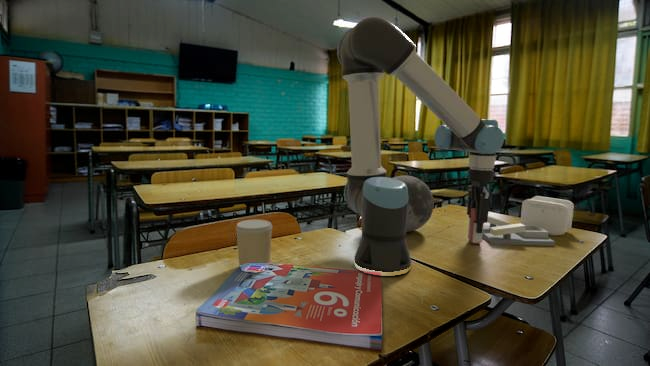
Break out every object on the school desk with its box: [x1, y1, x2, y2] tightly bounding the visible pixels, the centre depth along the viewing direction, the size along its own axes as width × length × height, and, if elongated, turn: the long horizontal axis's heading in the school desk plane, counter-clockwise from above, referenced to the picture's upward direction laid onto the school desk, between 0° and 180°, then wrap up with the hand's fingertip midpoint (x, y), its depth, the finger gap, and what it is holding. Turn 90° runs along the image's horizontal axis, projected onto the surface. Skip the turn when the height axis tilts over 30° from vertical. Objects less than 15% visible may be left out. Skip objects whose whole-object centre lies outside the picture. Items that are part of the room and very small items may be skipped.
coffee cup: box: [235, 218, 273, 266], centre depth 100 cm, size 9×9×12 cm
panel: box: [482, 223, 556, 247], centre depth 131 cm, size 20×18×4 cm
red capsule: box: [468, 208, 480, 245], centre depth 123 cm, size 4×4×11 cm
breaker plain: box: [486, 215, 511, 226], centre depth 136 cm, size 10×3×2 cm, turn 90°
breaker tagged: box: [490, 222, 526, 236], centre depth 125 cm, size 10×3×2 cm, turn 88°
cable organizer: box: [519, 195, 575, 236], centre depth 139 cm, size 15×11×12 cm
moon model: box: [391, 174, 435, 233], centre depth 136 cm, size 20×20×20 cm
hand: (474, 240), depth 124 cm, fingers closed on red capsule, 3 cm apart
